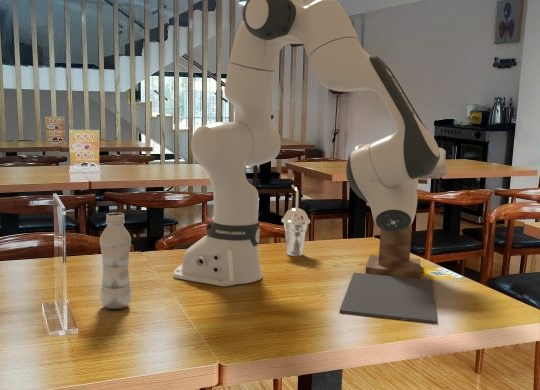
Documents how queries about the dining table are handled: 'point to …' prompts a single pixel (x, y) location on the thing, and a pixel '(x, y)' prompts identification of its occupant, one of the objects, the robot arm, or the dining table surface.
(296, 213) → the cup with straw
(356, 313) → the rubber mat
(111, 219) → the plastic bottle
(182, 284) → the dining table surface
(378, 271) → the walnut stand
